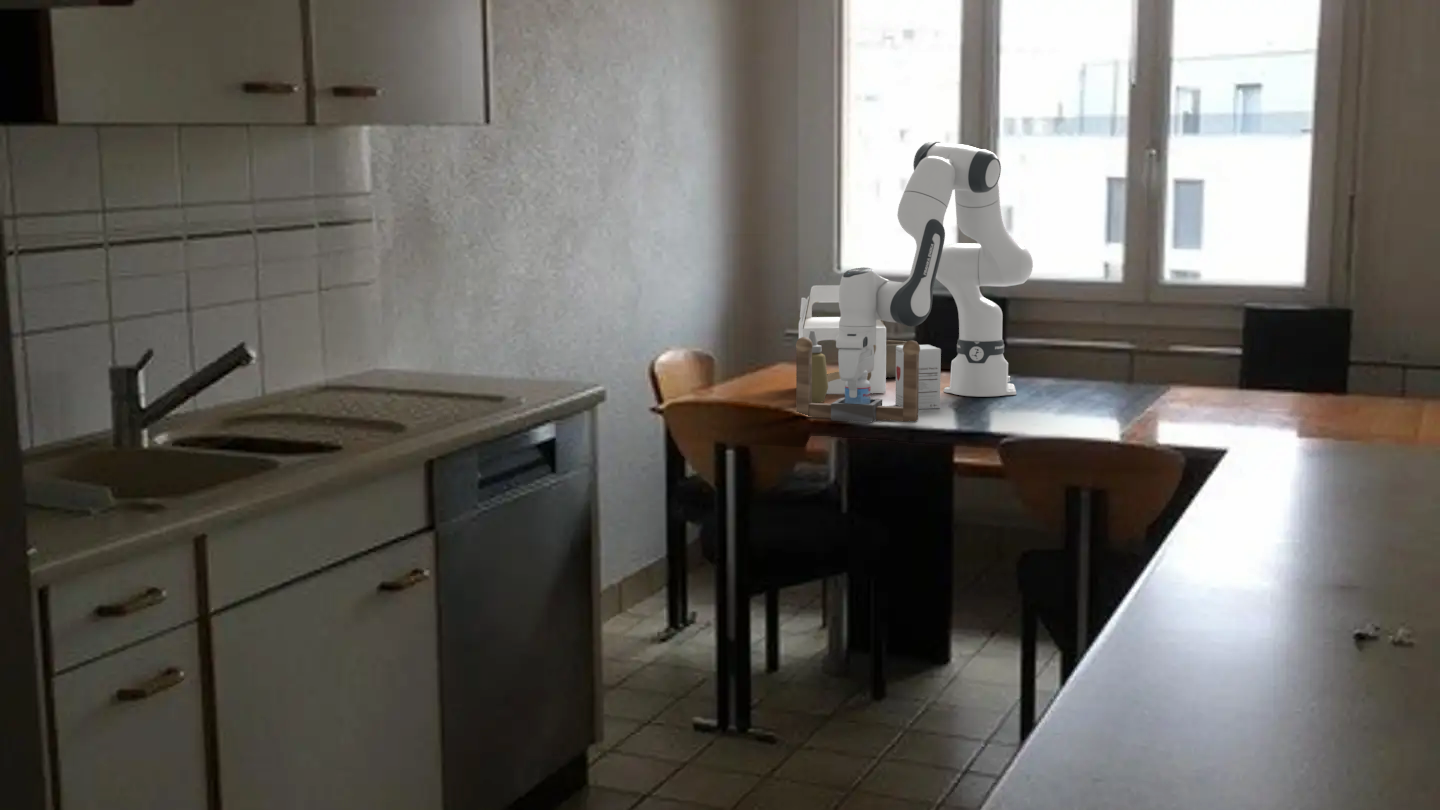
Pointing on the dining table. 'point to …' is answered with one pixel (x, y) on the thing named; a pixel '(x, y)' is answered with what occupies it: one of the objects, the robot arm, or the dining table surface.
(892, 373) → the bowl
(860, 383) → the pill bottle
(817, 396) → the squeeze bottle
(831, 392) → the gable box
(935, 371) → the supplement box
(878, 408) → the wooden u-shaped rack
